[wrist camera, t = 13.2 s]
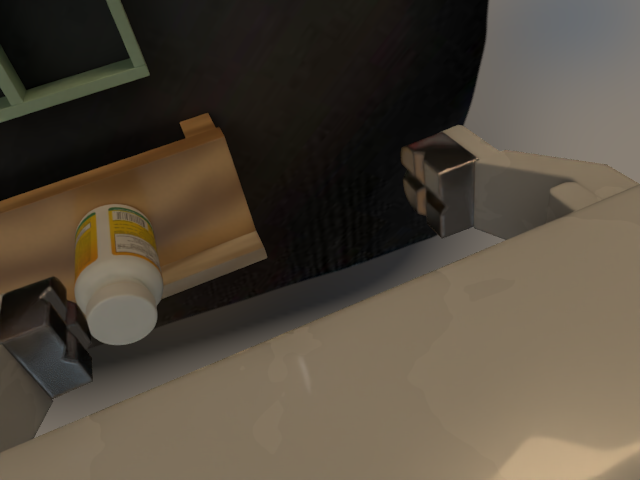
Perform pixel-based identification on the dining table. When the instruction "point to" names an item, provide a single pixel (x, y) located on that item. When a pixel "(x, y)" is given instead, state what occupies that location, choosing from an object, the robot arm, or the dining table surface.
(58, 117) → the dining table surface
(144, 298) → the supplement bottle
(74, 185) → the windowsill ledge
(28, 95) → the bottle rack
